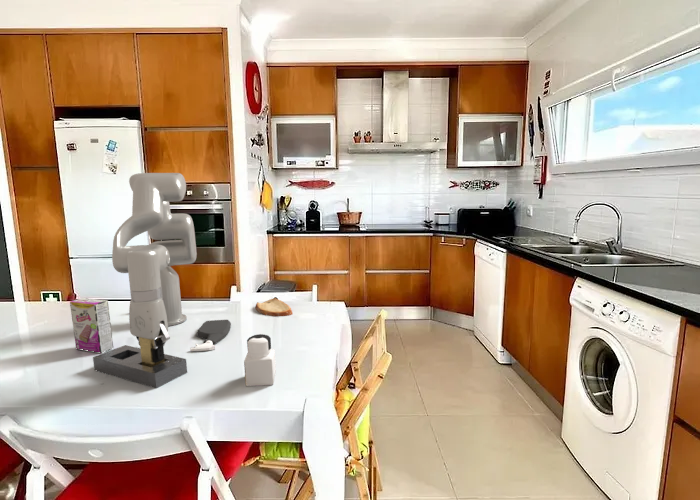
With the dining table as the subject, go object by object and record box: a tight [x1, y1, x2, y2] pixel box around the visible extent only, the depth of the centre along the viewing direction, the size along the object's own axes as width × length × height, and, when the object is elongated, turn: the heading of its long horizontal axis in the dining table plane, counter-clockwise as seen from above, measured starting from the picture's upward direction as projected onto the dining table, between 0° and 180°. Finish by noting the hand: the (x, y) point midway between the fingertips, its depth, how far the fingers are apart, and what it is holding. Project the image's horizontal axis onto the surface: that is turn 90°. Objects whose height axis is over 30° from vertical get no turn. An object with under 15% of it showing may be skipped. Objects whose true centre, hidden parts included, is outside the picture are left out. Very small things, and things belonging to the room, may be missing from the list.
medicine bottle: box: [243, 333, 277, 387], centre depth 110 cm, size 7×7×12 cm
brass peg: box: [139, 337, 164, 367], centre depth 114 cm, size 4×4×10 cm
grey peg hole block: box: [92, 344, 188, 389], centre depth 117 cm, size 26×10×4 cm, turn 63°
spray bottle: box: [189, 319, 232, 352], centre depth 143 cm, size 3×11×24 cm
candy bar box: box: [69, 297, 114, 354], centre depth 134 cm, size 11×5×16 cm, turn 71°
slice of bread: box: [254, 297, 293, 317], centre depth 174 cm, size 18×18×4 cm
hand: (153, 359), depth 114 cm, fingers closed on brass peg, 3 cm apart
